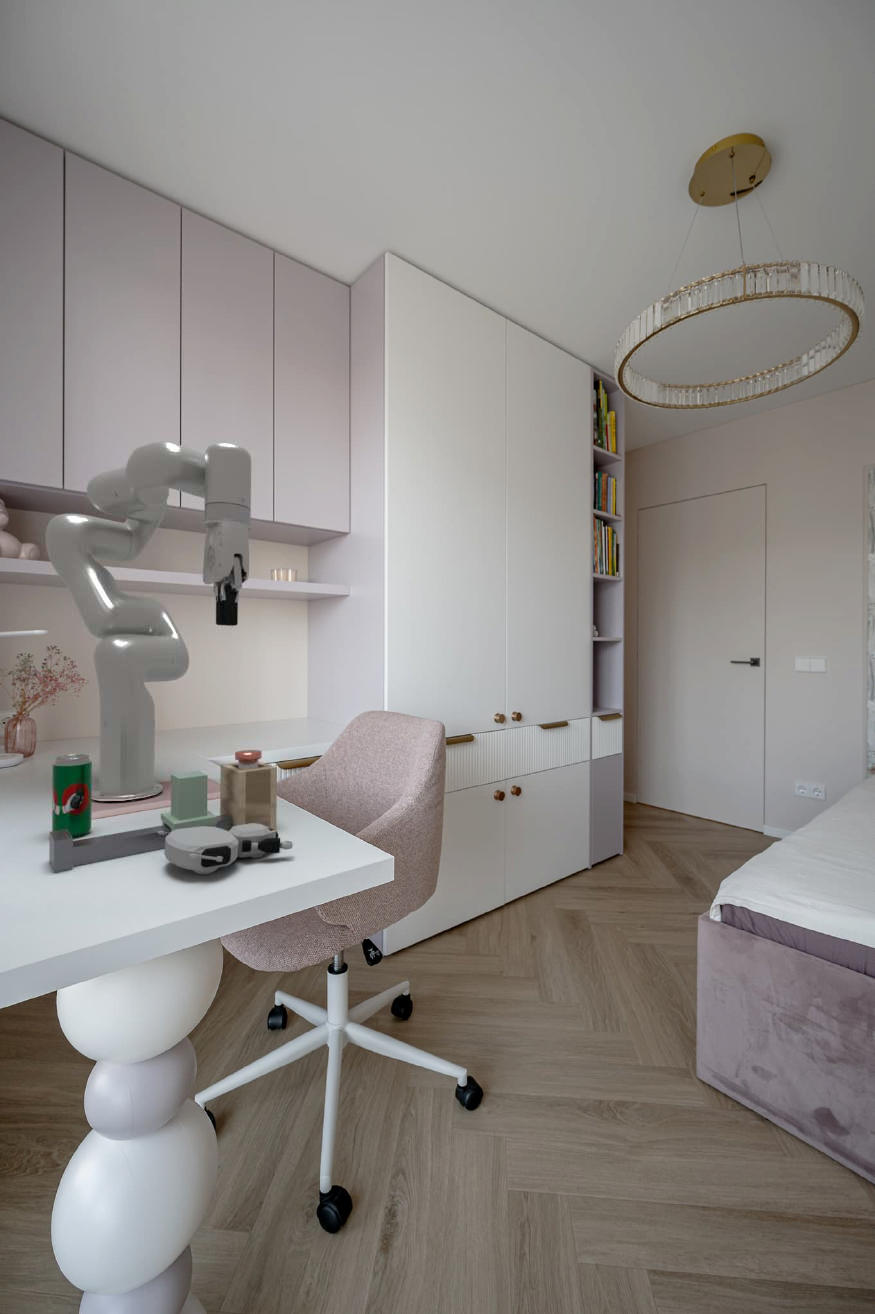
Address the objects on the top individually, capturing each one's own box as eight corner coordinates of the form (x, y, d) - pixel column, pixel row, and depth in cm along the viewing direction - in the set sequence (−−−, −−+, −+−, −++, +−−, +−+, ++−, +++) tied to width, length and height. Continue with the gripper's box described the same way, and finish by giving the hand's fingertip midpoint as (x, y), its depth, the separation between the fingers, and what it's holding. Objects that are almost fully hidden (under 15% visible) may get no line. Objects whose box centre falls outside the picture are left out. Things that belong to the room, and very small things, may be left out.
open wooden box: (220, 826, 91) (220, 764, 91) (256, 819, 95) (256, 760, 95) (238, 838, 85) (239, 772, 85) (276, 830, 89) (276, 767, 89)
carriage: (160, 836, 85) (161, 773, 85) (201, 828, 89) (202, 768, 89) (174, 848, 79) (174, 781, 79) (217, 839, 83) (217, 775, 83)
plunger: (231, 789, 90) (231, 751, 90) (255, 785, 93) (255, 749, 93) (240, 793, 87) (240, 755, 87) (265, 790, 90) (265, 752, 90)
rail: (49, 861, 75) (49, 831, 75) (229, 827, 90) (229, 802, 90) (54, 872, 71) (54, 841, 71) (241, 834, 87) (241, 809, 87)
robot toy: (257, 844, 85) (150, 860, 75) (259, 814, 86) (153, 826, 75) (297, 867, 76) (182, 889, 66) (299, 833, 77) (185, 850, 66)
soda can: (98, 830, 89) (99, 754, 89) (75, 840, 84) (75, 759, 84) (69, 828, 89) (69, 753, 89) (43, 839, 84) (44, 759, 84)
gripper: (191, 523, 101) (190, 625, 101) (220, 507, 89) (219, 622, 89) (233, 529, 105) (232, 627, 105) (266, 515, 94) (265, 624, 94)
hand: (226, 625), depth 97 cm, fingers closed
